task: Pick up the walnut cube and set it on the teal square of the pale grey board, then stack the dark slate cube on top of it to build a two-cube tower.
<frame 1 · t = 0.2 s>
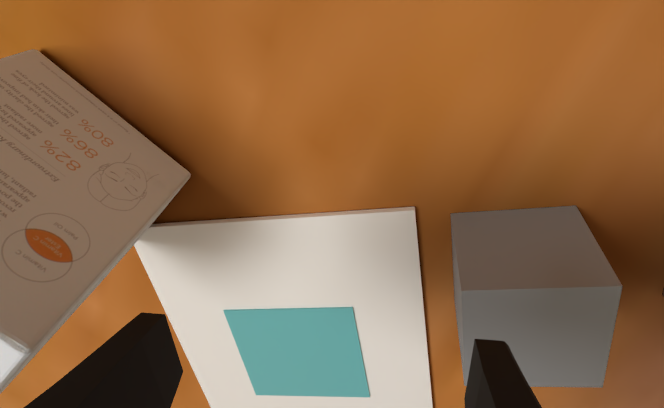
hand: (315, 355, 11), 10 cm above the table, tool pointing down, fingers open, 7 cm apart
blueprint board: (301, 350, 26), on the table
small box: (95, 152, 21), on the table, touching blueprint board
slate block: (509, 255, 21), on the table
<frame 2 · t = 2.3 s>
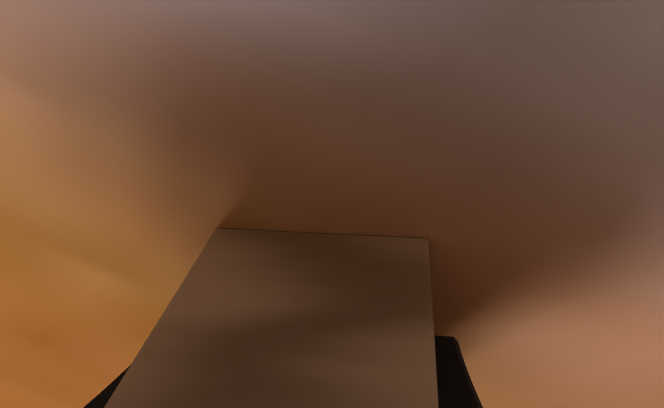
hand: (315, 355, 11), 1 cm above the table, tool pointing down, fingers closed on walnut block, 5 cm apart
walnut block: (324, 311, 12), on the table, touching gripper
when the fingers open (3 cm above the table, at t = 6.6 s): walnut block drops 1 cm, resting on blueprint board.
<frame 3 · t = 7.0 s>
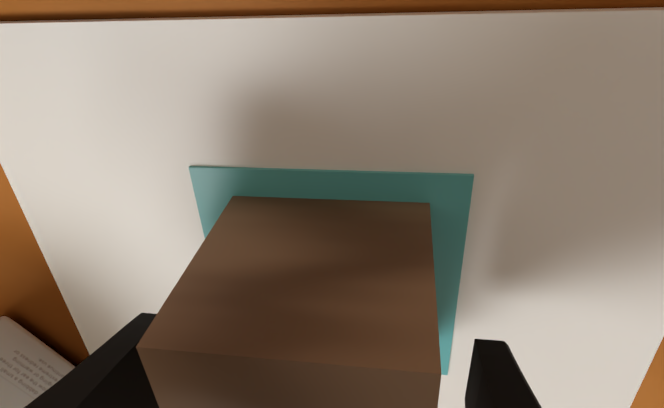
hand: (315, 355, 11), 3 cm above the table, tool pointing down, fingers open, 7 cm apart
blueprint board: (333, 272, 13), on the table
walnut block: (332, 276, 13), resting on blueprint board
small box: (26, 385, 19), on the table, touching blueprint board
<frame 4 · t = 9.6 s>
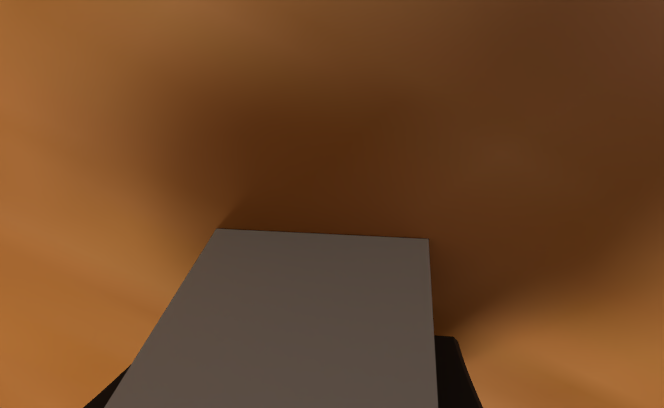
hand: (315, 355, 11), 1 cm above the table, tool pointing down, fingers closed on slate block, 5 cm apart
slate block: (324, 312, 12), on the table, touching gripper
when the fingers open (8 cm above the table, at t = 12.7 s): slate block drops 1 cm, resting on walnut block.
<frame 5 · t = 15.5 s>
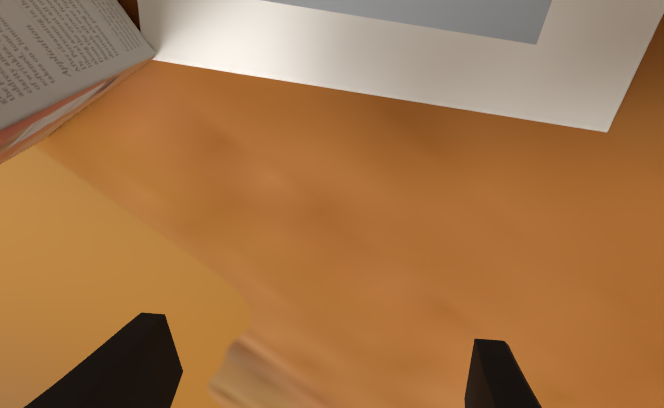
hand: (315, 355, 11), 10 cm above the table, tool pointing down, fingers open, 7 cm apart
small box: (53, 41, 19), on the table, touching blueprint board
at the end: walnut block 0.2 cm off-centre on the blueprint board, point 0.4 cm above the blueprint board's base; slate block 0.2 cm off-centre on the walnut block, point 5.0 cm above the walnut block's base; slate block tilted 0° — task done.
